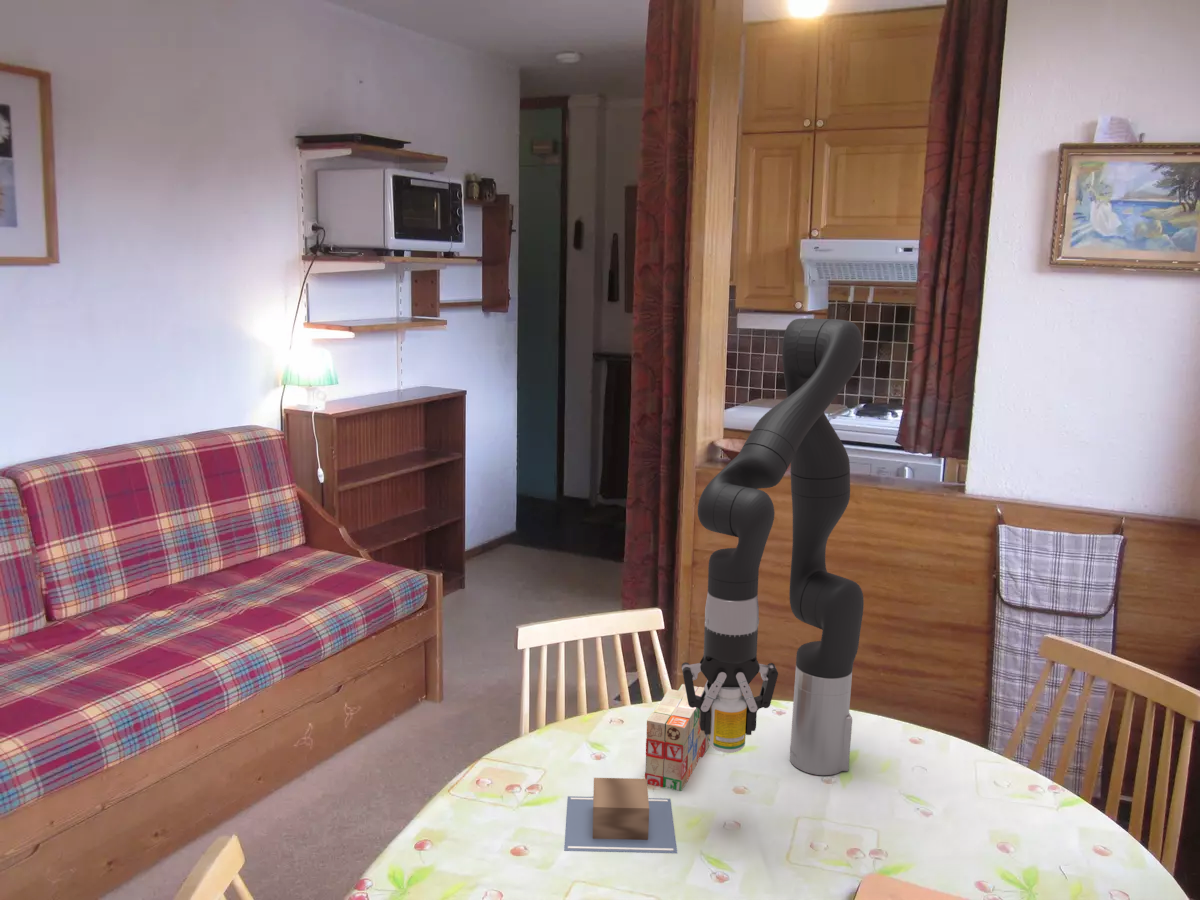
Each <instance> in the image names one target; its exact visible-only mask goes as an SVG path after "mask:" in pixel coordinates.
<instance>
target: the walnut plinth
mask: <svg viewBox="0 0 1200 900" xmlns="http://www.w3.org/2000/svg"><path fill="white" fill-rule="evenodd" d="M592 797H593V839H631V840H648V828H649V800H648V798H649V791H648V784H647V779H645V778H631V777H629V778H625V777H624V778H623V777H593V796H592Z"/></svg>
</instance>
